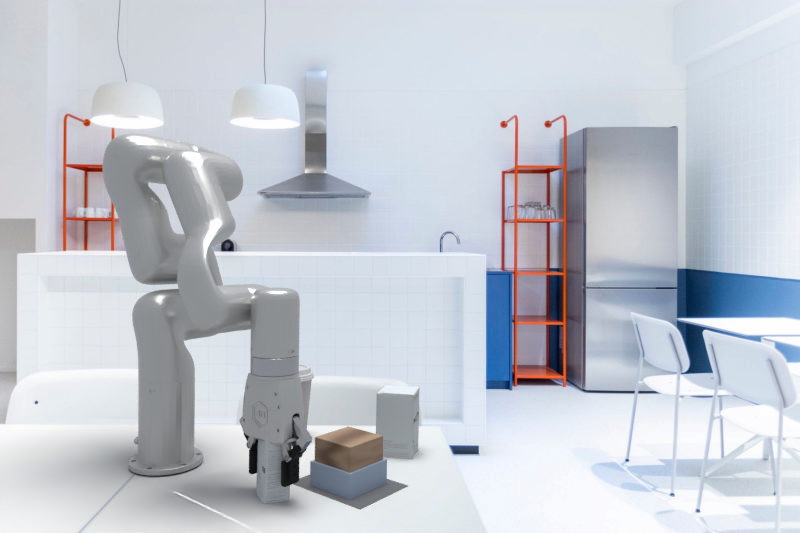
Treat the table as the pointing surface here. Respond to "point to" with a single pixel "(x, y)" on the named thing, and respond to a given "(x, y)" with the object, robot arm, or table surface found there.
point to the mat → (360, 500)
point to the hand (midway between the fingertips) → (273, 477)
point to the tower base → (348, 478)
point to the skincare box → (270, 472)
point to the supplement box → (398, 420)
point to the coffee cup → (305, 388)
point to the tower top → (348, 449)
